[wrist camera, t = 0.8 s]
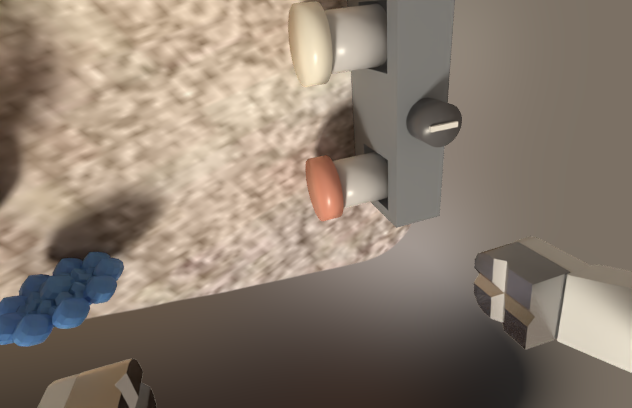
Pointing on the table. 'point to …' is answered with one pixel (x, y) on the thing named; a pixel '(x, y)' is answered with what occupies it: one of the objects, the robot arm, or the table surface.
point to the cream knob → (335, 40)
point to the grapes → (58, 298)
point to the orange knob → (345, 182)
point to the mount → (405, 104)
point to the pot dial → (434, 122)
